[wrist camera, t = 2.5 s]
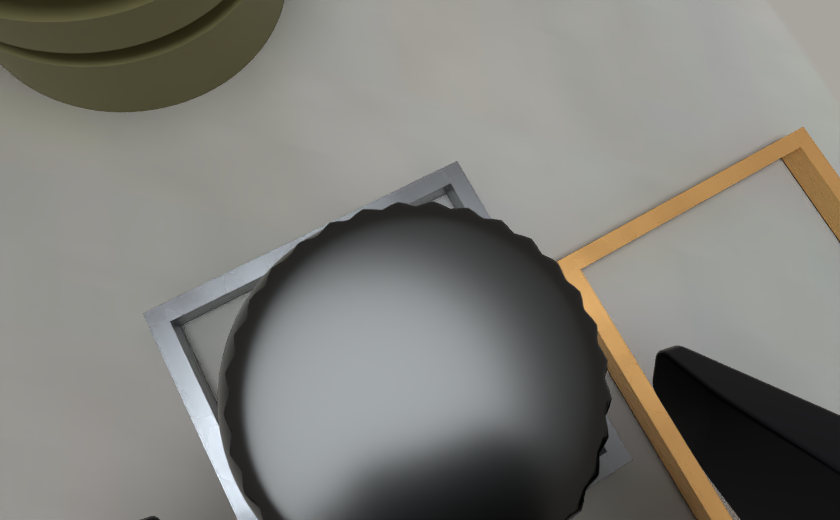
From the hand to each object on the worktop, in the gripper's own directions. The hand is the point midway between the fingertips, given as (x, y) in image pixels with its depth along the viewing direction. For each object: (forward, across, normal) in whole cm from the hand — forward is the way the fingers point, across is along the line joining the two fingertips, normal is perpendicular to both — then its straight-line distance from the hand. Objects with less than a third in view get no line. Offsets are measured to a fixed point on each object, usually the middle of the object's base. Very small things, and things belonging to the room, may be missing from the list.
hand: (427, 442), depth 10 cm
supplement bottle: (+7, 0, +6) cm, 9 cm away
